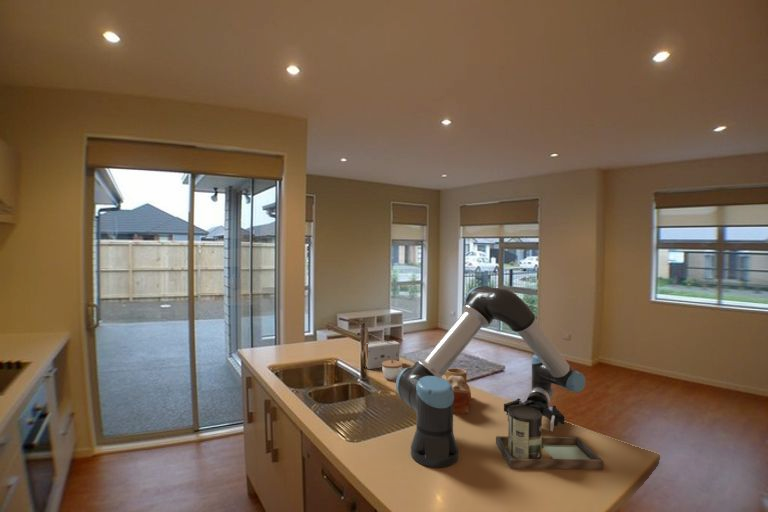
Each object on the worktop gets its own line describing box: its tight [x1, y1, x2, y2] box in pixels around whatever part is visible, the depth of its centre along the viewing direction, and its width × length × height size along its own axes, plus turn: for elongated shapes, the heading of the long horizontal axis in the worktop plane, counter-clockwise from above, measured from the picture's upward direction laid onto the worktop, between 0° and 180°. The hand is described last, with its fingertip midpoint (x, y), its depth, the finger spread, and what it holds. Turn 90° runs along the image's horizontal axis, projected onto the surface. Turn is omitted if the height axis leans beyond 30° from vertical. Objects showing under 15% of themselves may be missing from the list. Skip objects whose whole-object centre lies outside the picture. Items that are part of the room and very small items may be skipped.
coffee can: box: [507, 406, 543, 459], centre depth 119 cm, size 10×10×14 cm
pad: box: [542, 445, 589, 459], centre depth 119 cm, size 12×12×1 cm
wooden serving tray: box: [495, 435, 604, 470], centre depth 119 cm, size 28×15×2 cm, turn 90°
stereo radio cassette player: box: [366, 333, 401, 370], centre depth 212 cm, size 21×8×20 cm, turn 115°
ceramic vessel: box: [444, 367, 472, 415], centre depth 159 cm, size 14×26×15 cm, turn 170°
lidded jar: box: [381, 360, 403, 381], centre depth 192 cm, size 11×11×9 cm
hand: (529, 422), depth 126 cm, fingers open, 13 cm apart
